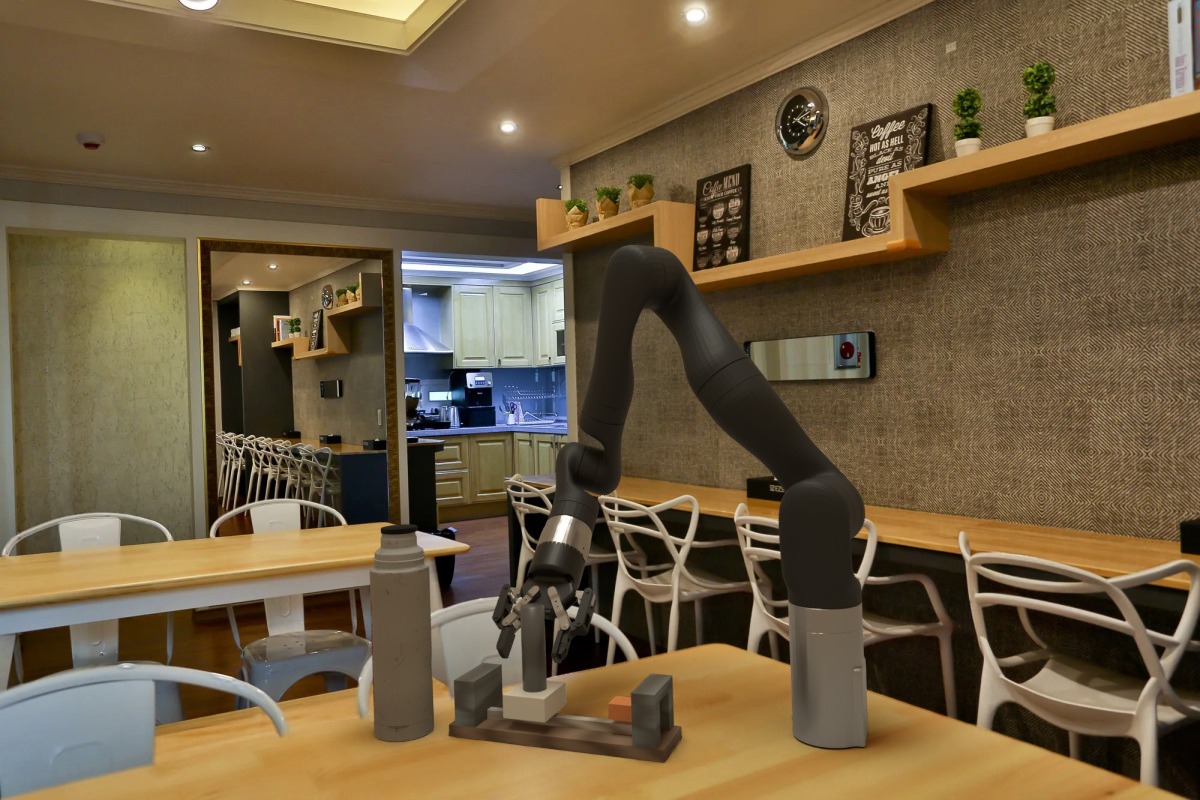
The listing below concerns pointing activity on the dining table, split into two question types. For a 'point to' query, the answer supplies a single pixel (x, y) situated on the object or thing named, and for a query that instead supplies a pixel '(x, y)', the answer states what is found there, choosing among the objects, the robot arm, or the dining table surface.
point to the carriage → (534, 674)
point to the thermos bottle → (401, 637)
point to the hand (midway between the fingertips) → (528, 657)
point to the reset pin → (620, 709)
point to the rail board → (569, 720)
